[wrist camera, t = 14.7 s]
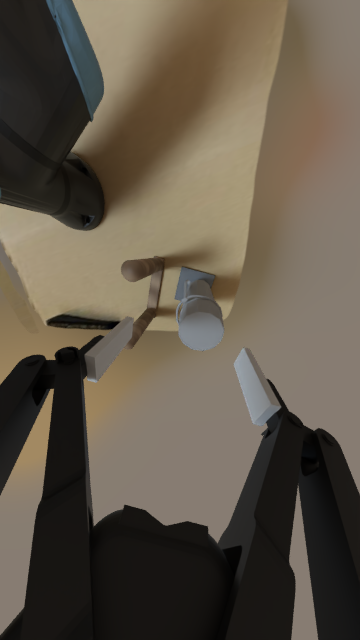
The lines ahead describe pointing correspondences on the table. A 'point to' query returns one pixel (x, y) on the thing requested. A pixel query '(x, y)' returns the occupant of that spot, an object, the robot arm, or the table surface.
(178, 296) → the pad
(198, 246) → the table surface
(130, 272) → the gate
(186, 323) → the water bottle
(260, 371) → the robot arm
